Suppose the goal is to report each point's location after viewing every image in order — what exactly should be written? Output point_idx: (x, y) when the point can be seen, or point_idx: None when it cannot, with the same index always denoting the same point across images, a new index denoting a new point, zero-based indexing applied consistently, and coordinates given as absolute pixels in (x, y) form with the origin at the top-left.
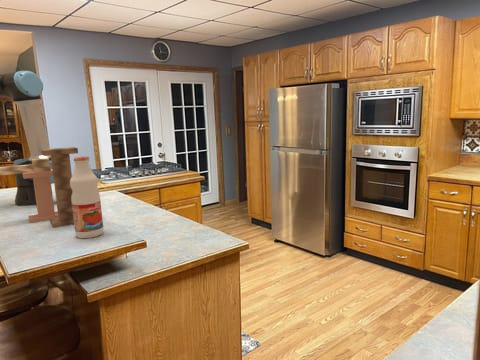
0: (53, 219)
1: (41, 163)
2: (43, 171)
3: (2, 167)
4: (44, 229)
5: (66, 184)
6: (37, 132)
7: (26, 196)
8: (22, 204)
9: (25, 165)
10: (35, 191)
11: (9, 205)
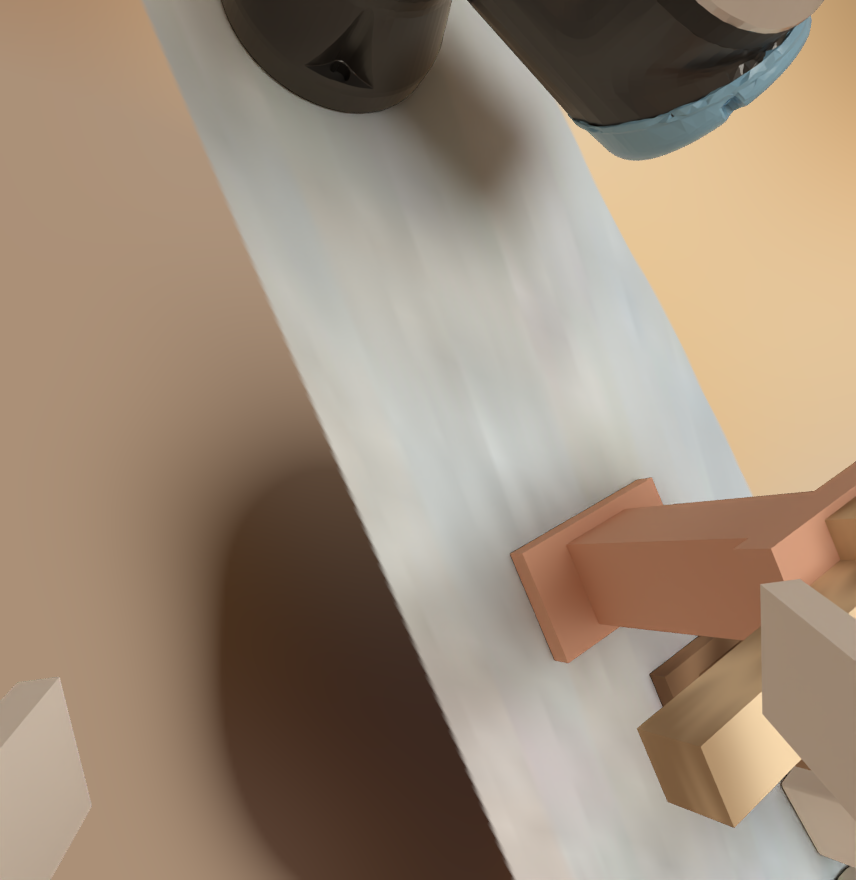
0: (682, 688)
1: None
2: None
3: (788, 759)
4: (669, 811)
5: None
6: None
7: (354, 47)
8: (308, 96)
9: None
10: (724, 626)
11: (187, 24)
